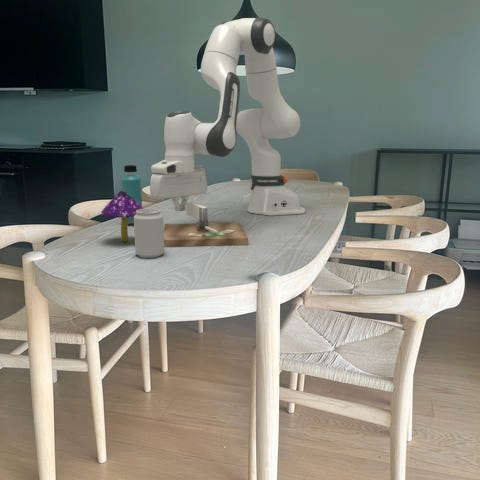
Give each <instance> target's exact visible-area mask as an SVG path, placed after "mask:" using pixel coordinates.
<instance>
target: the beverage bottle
mask: <svg viewBox="0 0 480 480" xmlns="http://www.w3.org/2000/svg"><path fill="white" fill-rule="evenodd" d="M123 167H124V168H123V172H124V173H137V172H138V169H137V165H132V164H128V165H127V164H126V165H124V166H123ZM121 187H122V188H121V191H125V192H126V193H127V194H128V195H129V196H131V197H132V198H134V199H135V200H136V201H137V202H138V203H139V204H140V205H141V206H142V207H143V203H142V201H143V200H142V199H143V198H142V186H141V178H140V177H139V176H138V175H135V174H131V175H130V174H127V175H123V176H122V178H121ZM128 223H134V217H128Z"/></svg>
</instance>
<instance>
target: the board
mask: <svg viewBox="0 0 480 480" xmlns="http://www.w3.org/2000/svg"><path fill="white" fill-rule="evenodd" d="M208 227H209V228H212V229H214V230H216V231H218V233H217V234H216V233H213V232H211V231H209V230H200V229H199V222H197V223H194V222H193V223H191V222H190V223H165V224H164V248H176V247H177V248H182V247H214V246H215V247H219V246H249V236H248V235H247V233H246V232H245V230H244V229H243V227H242V225H241V224H240V222H208Z"/></svg>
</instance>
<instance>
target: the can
mask: <svg viewBox="0 0 480 480" xmlns="http://www.w3.org/2000/svg"><path fill="white" fill-rule="evenodd" d="M133 227H134V228H133V229H134V249H135V254H136V255H137V256H138V257H139V258H142V259H155V258H159V257H161V256H162V255H163V254H164V253H165V247H164V227H165V224H164V215H163V214H162V213H161V209H158V208H144V209H140V210H137V211H136V215H135V216H134V222H133Z"/></svg>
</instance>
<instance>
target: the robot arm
mask: <svg viewBox="0 0 480 480" xmlns="http://www.w3.org/2000/svg"><path fill="white" fill-rule="evenodd" d="M275 40H276V30H275V26H274V25H273V23H272V22H271V20H270V19H269V18H267V17H259V16H258V17H256V18H255V17H248V18H247V17H245V18H244V17H243V18H240V19H235V20H233V19H232V20H230V21H223V22H220V23H219V24H218V25H216V26H215V27H214V29H213V30H212V32H211V35H210V36H209V38H208V41H207V43H206V46H205V48H204V49H205V50H204V53H203V56H202V59H201V64H200V74H201V77H202V79H203V80H204V82H206V84H207V85H209V86H211V88H213V89H215V90H217V91H219V94H220V99H219V109H218V114H217V115H218V116H217V119H216V121H214V122H202V121H200V120H198V119H197V118H196V117H195V116H193V115H192V112H191V111H189V110H178V111H177V110H176V111H171V112H169V113H168V114H166V116H165V120H164V127H163V128H164V129H163V133H164V135H163V136H164V138H163V139H164V144H165V151H164V159H162V160H161V161H158V162H156V163H154V164H151V166H150V167H151V168H150V170H151V171H150V172H151V173H152V175H151V176H150V181H149V182H150V183H149V193H150V196H151V198H153V199H154V200H164V199H171V201H172V203H173V205H174V210H175V212H184V211H187V210H186V204H187V202H189V200H190V199H189V198H190V197H189V196H196V195H204V194H205V195H206V193H207V191H208V180H207V175H206V168H205V166H203V165H202V164H195V154H198V155H208V156H209V155H210V156H215V157H220V158H224V157H227V156H229V155H230V154H231V153H232V152H233V151H234V149H235V147H236V146H237V145H236V144H237V133H238V135H240V137H242V138H243V140H244V141H245V143H246V144H247V147H248V149H249V152H250V159H251V175H250V180H249V181H250V185H249V186H250V187H249V188H250V197H249V202H248V203H249V204H248V207H247V210H246V211H247V212H249V213H251V214H256V215H265V216H285V215H303V214H306V209H305V207H303V206H300V205H301V204H300V199H299V196H298V195H297V194H296V192H294V191H293V190H292V189H291V188H289V187H288V186H287V185H286V184H287V183H288V182H289V178H288V177H287V176H283V175H281V173H282V170H281V168H282V166H281V165H282V162H281V161H282V156H281V155H280V153H279V151H278V150H276V149H275V148H273V147H272V146H271V144H270V143H269V139H281V140H282V139H288V138H289V139H290V138H292V137H295V136H296V135H297V134H298V132H299V130H300V128H301V118H300V116H299V114H298V112H297V111H296V110H294V109H293V108H292V107H291V106H290V105H288V103H287V102H286V100H285V99H284V97H283V95H282V93H281V90H280V84H279V79H278V78H279V77H278V71H277V61H276V56H275V51H274V48H273V46H274V44H275ZM240 56H244V66H245V77H246V83H247V84H246V85H247V92H248V95H249V96H250V97H251V98H252V99H254V100H256V101H257V102H258V103H259V104H260V105H261V107H262V108H248V109H244V110H241V111H239V103H240V95H241V81H240V78H239V76H238V75H237V68H238V63H239V58H240ZM180 199H181V201H180ZM179 201H180V202H179Z"/></svg>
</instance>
